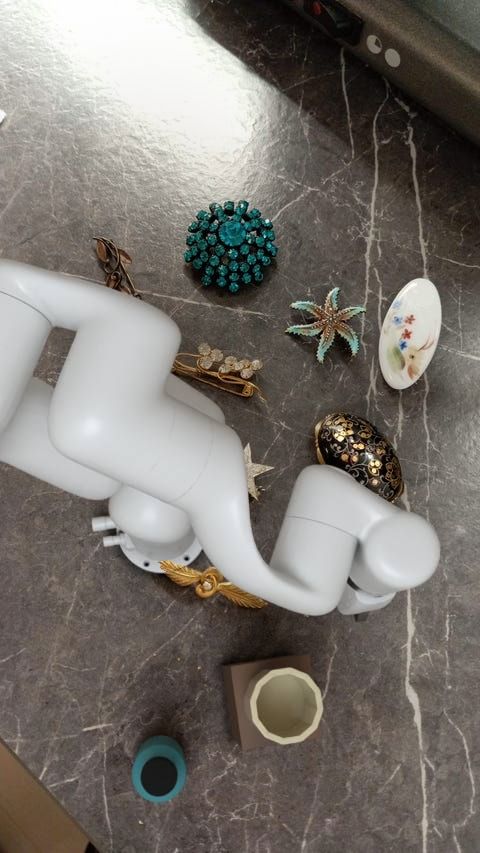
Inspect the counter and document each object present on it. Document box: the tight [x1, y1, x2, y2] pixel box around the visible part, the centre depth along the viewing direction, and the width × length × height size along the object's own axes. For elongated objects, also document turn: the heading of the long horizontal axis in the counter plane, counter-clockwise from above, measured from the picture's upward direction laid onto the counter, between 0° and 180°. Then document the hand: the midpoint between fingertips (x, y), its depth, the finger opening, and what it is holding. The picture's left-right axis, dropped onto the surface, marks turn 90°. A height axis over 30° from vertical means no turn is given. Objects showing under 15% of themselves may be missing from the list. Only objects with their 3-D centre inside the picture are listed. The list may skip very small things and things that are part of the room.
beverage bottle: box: [131, 734, 188, 803], centre depth 108 cm, size 6×7×20 cm
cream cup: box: [243, 667, 324, 745], centre depth 95 cm, size 7×7×10 cm
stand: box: [221, 653, 324, 751], centre depth 110 cm, size 9×9×21 cm
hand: (340, 575), depth 113 cm, fingers closed
